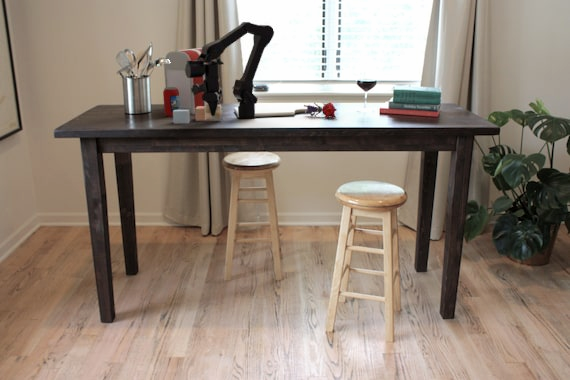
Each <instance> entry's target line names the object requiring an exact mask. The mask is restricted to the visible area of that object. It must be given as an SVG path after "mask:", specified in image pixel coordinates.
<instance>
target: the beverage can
mask: <svg viewBox="0 0 570 380" xmlns="http://www.w3.org/2000/svg"><path fill="white" fill-rule="evenodd" d="M162 93H163V94H162V97H163V111H164V115H165V116H167V117H169V118H173V111H174V110H180V98H179V91H178V89H177V87H167V88H166V87H164V89H163V92H162Z"/></svg>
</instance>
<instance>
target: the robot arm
mask: <svg viewBox="0 0 570 380" xmlns="http://www.w3.org/2000/svg"><path fill="white" fill-rule="evenodd" d="M247 34H250V35H253V37H252V39H253V45H252V48H251V51H250V53H249V56H248V59H247V62H246V64H245V68H244V71H243V73H242V77H240V79H235V81H234V85H233V87H232V94H233V96H234V98H236V100H237V101H236V102H238V107H237V110H238V111H237V115H238V118H239V119H256V116H255V115H256V104H257V103H258V97H257V96H256V95H255V94H254V93H253V92H254V82H253V81H254V79H255V76H256V73H257V70H258V68H259V65H260V61H261V59H262V56H263V53H264V51H265V48H266V47H267V46H268V45H269V44H270V42H271V41H272V39H273V37H274V35H275V31H274V29H273V26H271V25H268V24H255V23H251V22H250V21H243V22H241V23H240V24H239V25H237V26H236V27H235V28H233V29H232V30H230V31H229V32H228V33H226V34H225V35H224V36H222V37H220V38H219V39H217V40H213V41H210V42H209V43H206V44H204V45H203V46H202V47H201V48H202V52H201V54H200V56H199V57H198V59H197V60H196V61H191V60H187V64H186V68H185V73H186V76H187V78H197V77H202V76H203V75H204V74H205V79H204V81H203V83H201V84H199V85H198V84H195V85H193V87H192V88H191V90H192V91H191V92H193V95H197V94H198V93H201V92H203V91H204V94H203V95H202V100H203V101H205V102H207V103H208V105H209V108H210V112H211V115H212V116H214V115H215V112H216V109H217V106H218V105H220V103H221V100H222V95H224V89H223V88H222V87H220V81H221V78H220V67H219V66H221V65H224V64H225V63H224V62H223V61H222V60H221V59H220V58H219V57H220V56H221V55H222V54H223V53H224V52H225V50H226V49H227V48H228V47H230V46H232V45H233V44H234V43H236V42H237V41H238V40H240V39H241V38H243V37H244V36H245V35H247ZM212 60H215V61H212ZM204 63H206V64H204Z"/></svg>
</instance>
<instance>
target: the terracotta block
mask: <svg viewBox="0 0 570 380" xmlns="http://www.w3.org/2000/svg"><path fill="white" fill-rule="evenodd" d="M194 116H195V121H196V122H197V121H201V122H202V121H207V119H208V118H206V111H205V106H197V107H196V108H195V114H194Z"/></svg>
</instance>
